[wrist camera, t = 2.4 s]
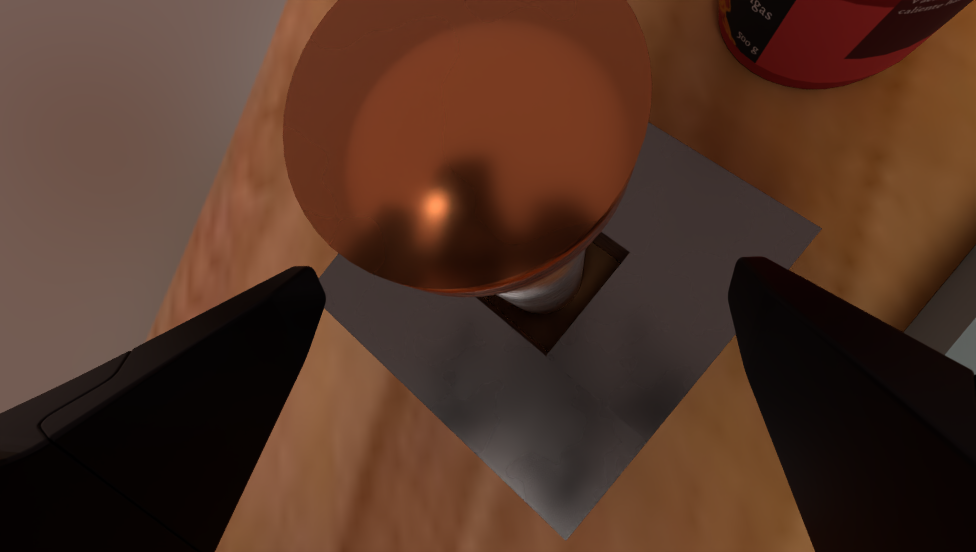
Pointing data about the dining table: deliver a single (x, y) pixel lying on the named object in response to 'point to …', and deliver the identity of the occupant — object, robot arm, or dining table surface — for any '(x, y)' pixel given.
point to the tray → (951, 316)
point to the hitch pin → (468, 139)
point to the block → (583, 333)
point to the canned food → (828, 36)
